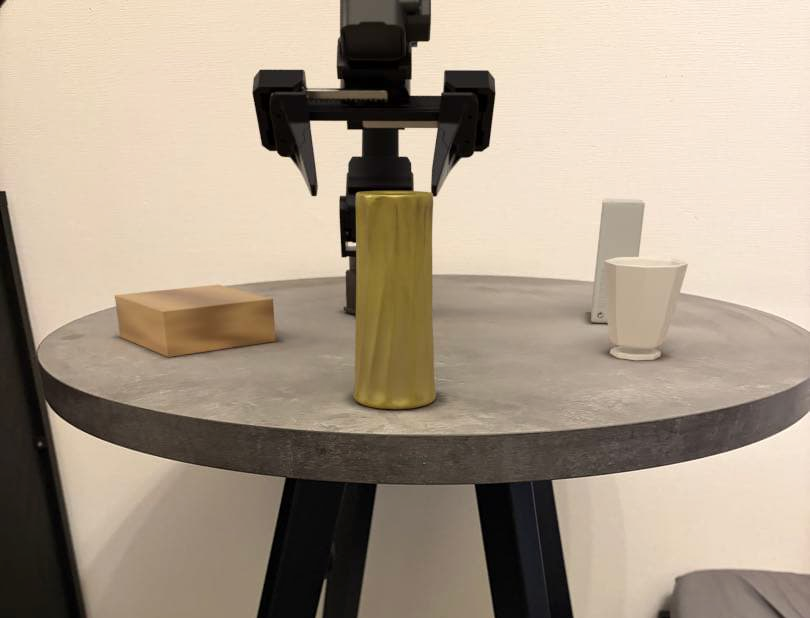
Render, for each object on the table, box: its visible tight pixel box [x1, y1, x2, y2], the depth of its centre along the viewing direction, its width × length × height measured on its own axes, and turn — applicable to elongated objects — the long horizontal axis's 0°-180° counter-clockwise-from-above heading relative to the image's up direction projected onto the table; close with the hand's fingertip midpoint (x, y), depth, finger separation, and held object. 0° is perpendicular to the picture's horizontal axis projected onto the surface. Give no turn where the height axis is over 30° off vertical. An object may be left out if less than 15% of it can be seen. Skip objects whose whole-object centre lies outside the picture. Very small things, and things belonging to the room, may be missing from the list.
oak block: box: [114, 284, 276, 358], centre depth 83 cm, size 11×11×4 cm
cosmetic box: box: [590, 198, 646, 324], centre depth 91 cm, size 6×4×12 cm
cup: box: [604, 256, 689, 361], centre depth 78 cm, size 7×10×8 cm
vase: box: [353, 190, 437, 410], centre depth 62 cm, size 6×6×14 cm
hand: (373, 192), depth 66 cm, fingers open, 9 cm apart
